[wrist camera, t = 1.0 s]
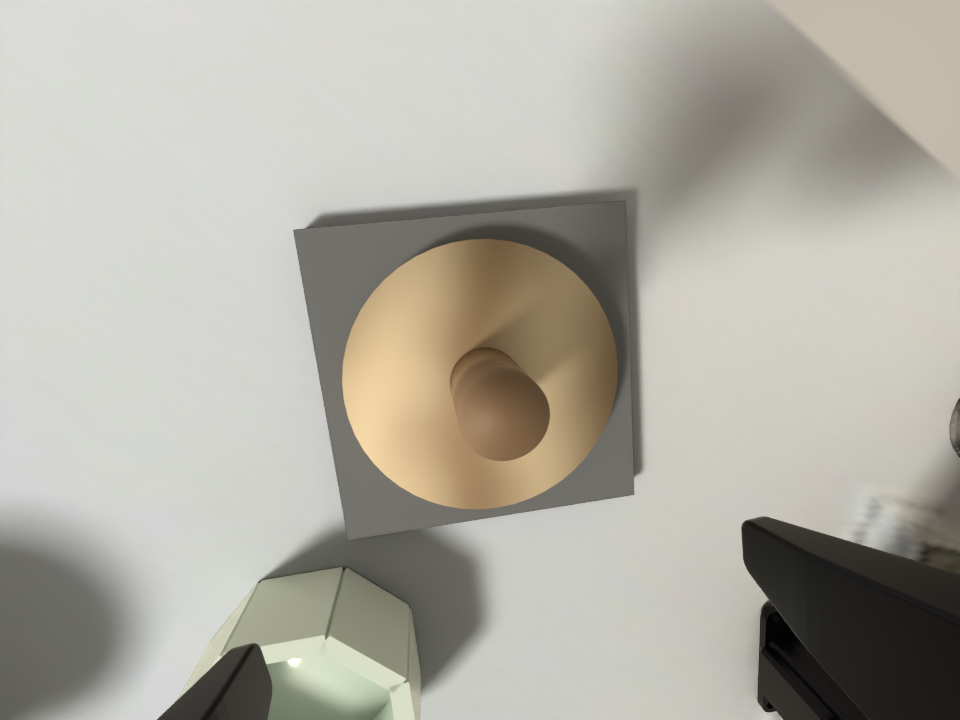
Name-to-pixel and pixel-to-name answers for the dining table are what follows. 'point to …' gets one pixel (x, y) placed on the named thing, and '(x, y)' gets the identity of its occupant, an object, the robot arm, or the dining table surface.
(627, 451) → the mat
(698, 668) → the dining table surface
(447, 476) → the lid
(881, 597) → the robot arm
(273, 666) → the bowl
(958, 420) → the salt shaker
